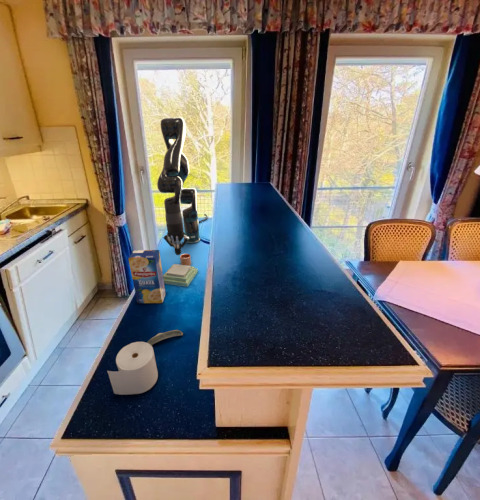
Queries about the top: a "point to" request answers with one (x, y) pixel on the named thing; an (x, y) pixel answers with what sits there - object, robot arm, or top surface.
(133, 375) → the toilet tissue
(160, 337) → the ceramic fragment
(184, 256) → the terracotta cup
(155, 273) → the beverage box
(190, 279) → the light green stepped block
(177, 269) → the beige square slab
